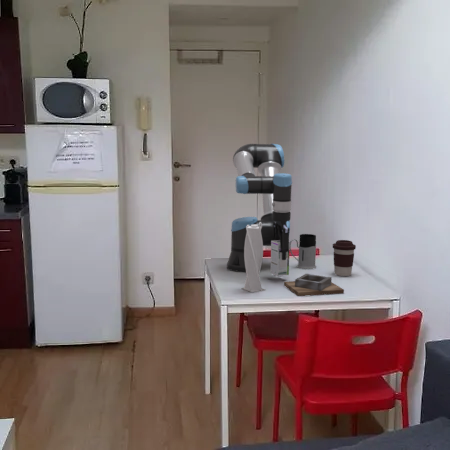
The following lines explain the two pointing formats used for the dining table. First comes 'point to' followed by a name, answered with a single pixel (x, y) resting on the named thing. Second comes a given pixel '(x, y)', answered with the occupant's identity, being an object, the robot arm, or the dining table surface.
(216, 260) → the dining table surface
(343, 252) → the coffee cup
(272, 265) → the syrup box
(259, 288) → the skyscraper
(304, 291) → the socket board
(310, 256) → the glass holder
